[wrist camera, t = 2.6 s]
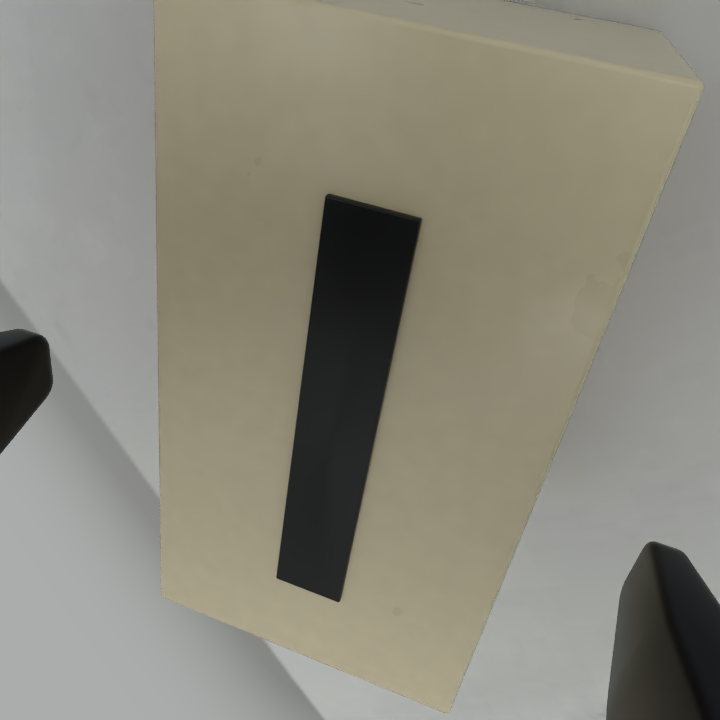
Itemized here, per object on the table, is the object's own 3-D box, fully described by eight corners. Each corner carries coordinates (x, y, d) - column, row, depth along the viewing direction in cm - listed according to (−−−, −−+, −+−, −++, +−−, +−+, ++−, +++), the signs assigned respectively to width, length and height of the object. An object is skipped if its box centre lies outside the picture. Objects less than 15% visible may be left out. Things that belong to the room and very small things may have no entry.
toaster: (297, 409, 19) (156, 601, 13) (353, -29, 13) (145, -34, 7) (501, 478, 18) (446, 721, 12) (663, 31, 12) (709, 84, 6)
